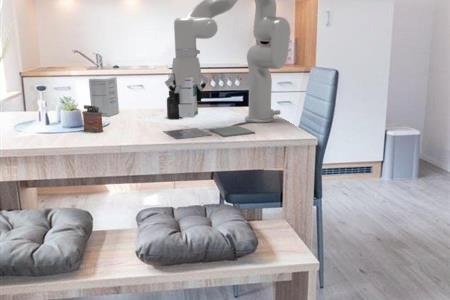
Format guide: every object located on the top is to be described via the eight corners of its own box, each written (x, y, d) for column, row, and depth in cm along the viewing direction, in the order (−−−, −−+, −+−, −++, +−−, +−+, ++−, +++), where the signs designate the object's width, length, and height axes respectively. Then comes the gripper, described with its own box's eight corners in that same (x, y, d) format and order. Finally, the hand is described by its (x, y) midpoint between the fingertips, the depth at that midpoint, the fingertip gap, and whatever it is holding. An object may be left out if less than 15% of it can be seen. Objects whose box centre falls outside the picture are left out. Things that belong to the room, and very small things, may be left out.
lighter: (105, 131, 172) (103, 105, 170) (100, 133, 169) (98, 106, 167) (87, 129, 175) (85, 104, 172) (81, 131, 172) (79, 105, 169)
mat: (237, 127, 180) (237, 125, 180) (255, 133, 169) (255, 131, 169) (208, 130, 174) (208, 128, 174) (224, 136, 163) (224, 135, 163)
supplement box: (119, 113, 211) (117, 76, 207) (110, 116, 202) (108, 78, 198) (100, 112, 213) (98, 76, 209) (90, 115, 204) (88, 78, 200)
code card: (196, 128, 178) (196, 127, 178) (212, 135, 166) (212, 134, 166) (162, 131, 171) (162, 131, 171) (176, 139, 159) (176, 138, 159)
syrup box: (194, 117, 164) (192, 77, 160) (178, 117, 165) (176, 77, 161) (198, 114, 169) (196, 75, 166) (183, 114, 171) (181, 75, 167)
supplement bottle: (169, 116, 203) (169, 89, 200) (184, 116, 202) (184, 89, 199) (165, 119, 197) (164, 91, 194) (180, 119, 196) (179, 91, 193)
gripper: (203, 52, 168) (205, 99, 173) (159, 54, 161) (161, 103, 165) (212, 53, 162) (213, 101, 167) (166, 55, 154) (169, 106, 159)
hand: (187, 102), depth 166 cm, fingers closed on syrup box, 8 cm apart
